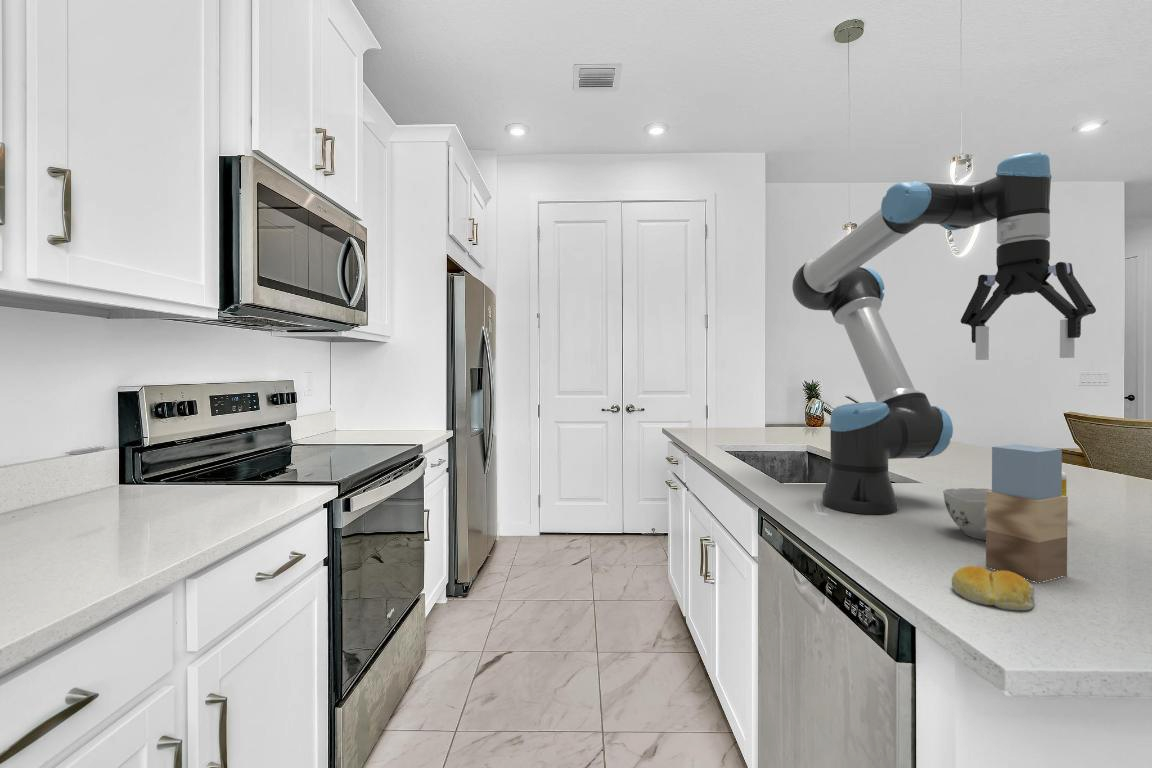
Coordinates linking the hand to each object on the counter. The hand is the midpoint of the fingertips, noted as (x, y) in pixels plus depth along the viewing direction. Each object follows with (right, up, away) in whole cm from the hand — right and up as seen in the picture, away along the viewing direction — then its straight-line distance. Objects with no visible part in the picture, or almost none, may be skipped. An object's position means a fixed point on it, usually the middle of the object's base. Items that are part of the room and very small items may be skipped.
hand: (1021, 359), depth 99 cm
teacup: (-7, -33, 0) cm, 34 cm away
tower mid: (-13, -27, -17) cm, 35 cm away
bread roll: (-25, -34, -25) cm, 49 cm away
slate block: (-13, -21, -17) cm, 30 cm away
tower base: (-13, -33, -17) cm, 39 cm away
